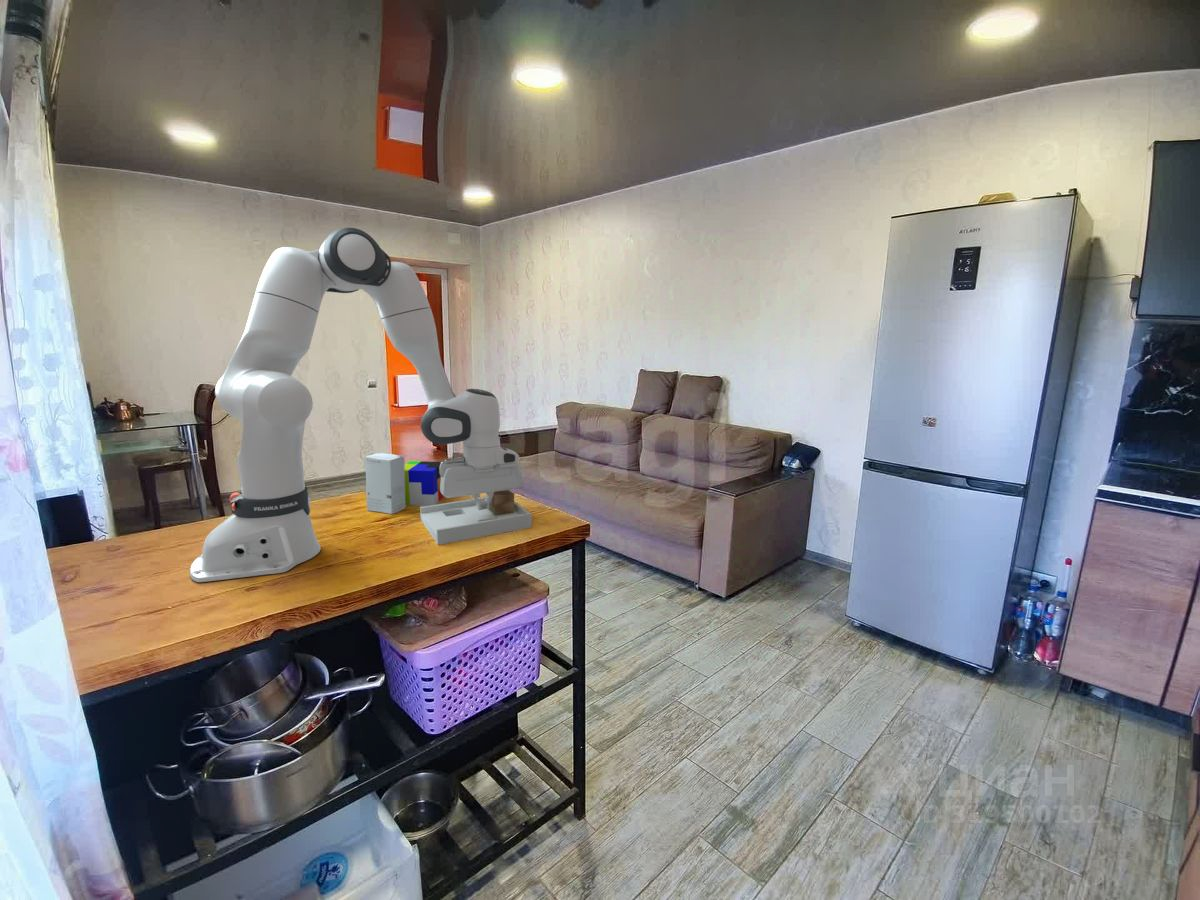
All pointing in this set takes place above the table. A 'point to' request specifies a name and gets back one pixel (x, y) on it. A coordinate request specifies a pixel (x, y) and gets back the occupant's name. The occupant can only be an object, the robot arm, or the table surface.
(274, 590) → the table surface
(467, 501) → the platform
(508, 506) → the walnut block
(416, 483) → the puzzle toy
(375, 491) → the skincare box
